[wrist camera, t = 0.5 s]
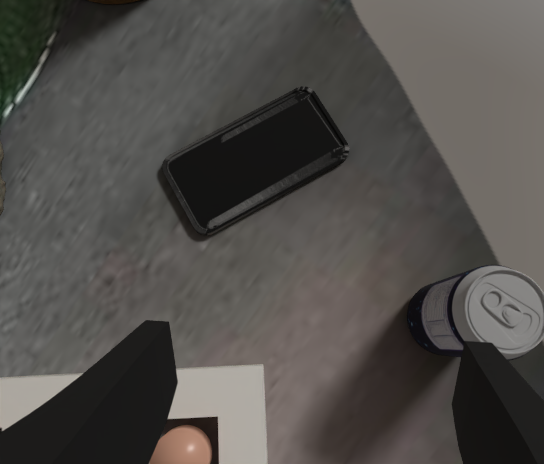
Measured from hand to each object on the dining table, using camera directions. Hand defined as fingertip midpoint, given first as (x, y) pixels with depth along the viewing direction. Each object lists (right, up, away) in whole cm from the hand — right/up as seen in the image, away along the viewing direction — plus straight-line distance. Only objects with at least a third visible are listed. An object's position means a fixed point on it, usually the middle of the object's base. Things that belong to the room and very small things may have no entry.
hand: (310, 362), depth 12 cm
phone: (-2, +9, +31) cm, 33 cm away
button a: (-7, -13, +24) cm, 28 cm away
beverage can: (+13, -4, +28) cm, 31 cm away
